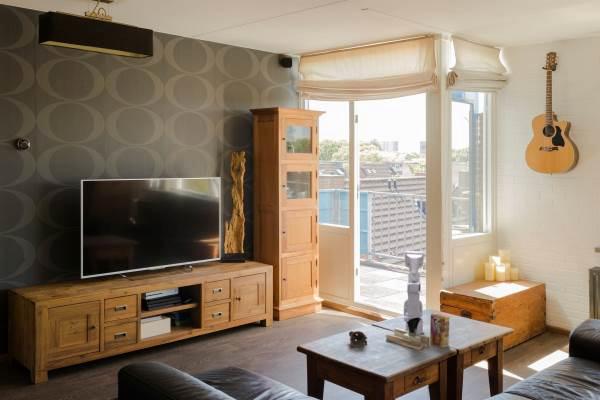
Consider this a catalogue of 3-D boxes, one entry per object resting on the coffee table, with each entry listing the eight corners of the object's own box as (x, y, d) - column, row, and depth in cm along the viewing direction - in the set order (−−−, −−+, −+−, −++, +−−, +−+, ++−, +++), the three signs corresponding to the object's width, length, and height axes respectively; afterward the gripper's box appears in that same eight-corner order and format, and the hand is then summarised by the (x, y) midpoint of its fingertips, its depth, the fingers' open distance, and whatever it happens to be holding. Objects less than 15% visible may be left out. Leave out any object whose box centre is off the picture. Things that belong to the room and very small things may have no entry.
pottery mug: (372, 346, 291) (370, 335, 286) (359, 357, 287) (356, 346, 282) (356, 334, 299) (353, 323, 295) (342, 345, 295) (340, 334, 291)
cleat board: (396, 336, 305) (396, 328, 304) (429, 345, 291) (429, 336, 290) (386, 340, 298) (386, 331, 298) (419, 349, 284) (419, 340, 284)
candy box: (449, 346, 290) (450, 316, 288) (443, 348, 287) (444, 318, 286) (434, 341, 297) (435, 312, 295) (429, 343, 294) (430, 314, 293)
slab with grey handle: (407, 338, 297) (408, 325, 296) (420, 342, 292) (421, 329, 291) (402, 340, 294) (403, 327, 293) (416, 344, 288) (417, 331, 288)
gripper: (413, 301, 299) (413, 327, 300) (399, 307, 288) (398, 334, 289) (425, 304, 294) (425, 330, 296) (411, 310, 283) (410, 337, 285)
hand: (412, 332), depth 292 cm, fingers closed on slab with grey handle
